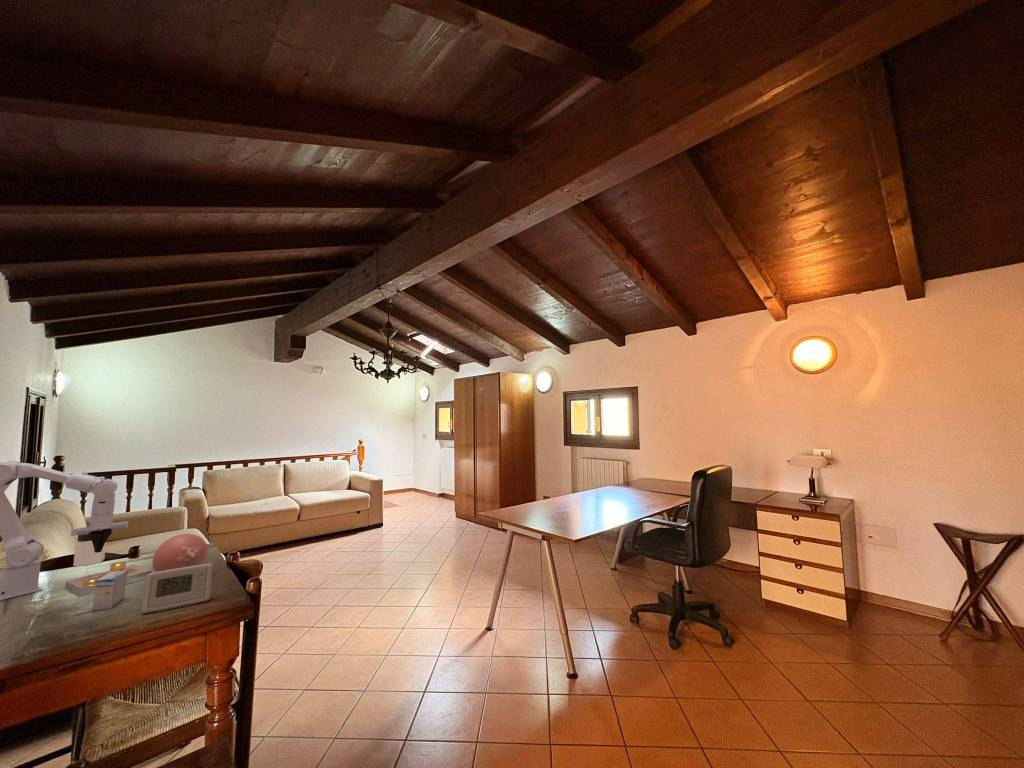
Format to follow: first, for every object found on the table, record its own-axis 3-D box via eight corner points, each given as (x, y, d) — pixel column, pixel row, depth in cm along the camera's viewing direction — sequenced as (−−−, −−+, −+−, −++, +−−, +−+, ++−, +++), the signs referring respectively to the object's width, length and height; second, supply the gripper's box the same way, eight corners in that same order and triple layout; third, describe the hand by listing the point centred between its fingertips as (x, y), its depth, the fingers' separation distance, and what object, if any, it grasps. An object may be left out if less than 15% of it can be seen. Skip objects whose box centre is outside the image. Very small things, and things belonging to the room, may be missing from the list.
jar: (100, 558, 165) (103, 528, 167) (108, 560, 161) (111, 530, 163) (69, 564, 157) (73, 533, 159) (76, 567, 154) (80, 536, 155)
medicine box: (106, 600, 123) (109, 571, 124) (124, 598, 125) (127, 569, 126) (91, 611, 116) (94, 580, 117) (111, 608, 118) (114, 578, 119)
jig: (79, 596, 126) (81, 585, 127) (64, 588, 133) (66, 577, 133) (150, 577, 142) (151, 567, 143) (134, 571, 149) (135, 561, 149)
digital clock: (136, 616, 112) (140, 577, 114) (151, 603, 121) (154, 567, 122) (205, 606, 119) (208, 569, 120) (214, 594, 127) (217, 560, 128)
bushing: (111, 583, 137) (113, 566, 138) (106, 582, 138) (108, 564, 139) (126, 579, 140) (128, 562, 141) (121, 578, 142) (123, 561, 143)
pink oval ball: (159, 593, 128) (164, 545, 130) (145, 580, 140) (149, 535, 142) (216, 579, 140) (219, 534, 142) (198, 567, 152) (202, 527, 154)
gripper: (77, 518, 135) (72, 559, 133) (133, 510, 148) (129, 548, 146) (70, 516, 138) (65, 556, 137) (125, 509, 151) (121, 545, 149)
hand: (97, 551), depth 142 cm, fingers closed
